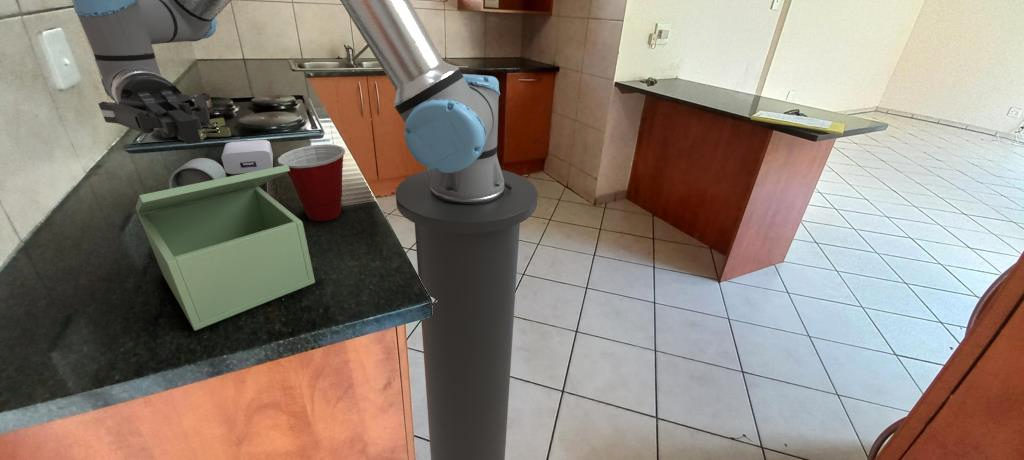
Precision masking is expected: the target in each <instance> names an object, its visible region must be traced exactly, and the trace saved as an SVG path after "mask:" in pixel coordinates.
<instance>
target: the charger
mask: <svg viewBox="0 0 1024 460" xmlns="http://www.w3.org/2000/svg"><path fill="white" fill-rule="evenodd" d="M221 161H222V165H223V169H224V170H225V173H226V174H230V175H240V174H245V173H249V172H254V171H259V170H264V169H269V168H274V153H273V150H272V145H271V142H270V141H269V140H267V139H256V140H255V139H254V140H242V141H241V140H239V141H232V142H231V141H230V142H227V143H225V144H224V148H223V151H222V154H221Z"/></svg>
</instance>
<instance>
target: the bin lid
mask: <svg viewBox="0 0 1024 460" xmlns="http://www.w3.org/2000/svg"><path fill="white" fill-rule="evenodd" d="M289 171H290V169H289V166H288V165H283V166H282V165H279V166H275V167H274V166H273V168H269V169H264V170H259V171H254V172H249V173H240V174H234V175H231V176H226V177H225V178H221V179H216V180H211V181H206V182H201V183H196V184H192V185H187V186H182V187H177V188H172V189H169V188H167V189H163V190H159V191H153V192H149V193H148V192H147V193H144V194H139V196H138V199H137V201H136V205H135V208H134V209H135V211H136V213H137V215H138V214H141V213H146V212H150V211H155V210H159V209H163V208H168V207H172V206H176V205H181V204H184V203H188V202H192V201H196V200H201V199H205V198H209V197H214V196H220V195H224V194H229V193H233V192H237V191H242V190H246V189H250V188H255V187H260V186H262V185H264V184H266V183H268V182H271V181H272V180H274V179H276V178H278V177H281V176H283V175H284V174H286V173H287V172H289ZM287 174H288V173H287Z"/></svg>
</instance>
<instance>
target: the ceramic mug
mask: <svg viewBox="0 0 1024 460" xmlns="http://www.w3.org/2000/svg"><path fill="white" fill-rule="evenodd" d="M225 177H227V173H226V172H225V169H224V166H222V165H221V164H220V163H219V162H218V161H216V160H214V159H211V158H207V157H198V158H193V159H191V160H188V161H187V162H185V164H183V165H182V166H180V167H178V168H177V169H176V170H174V171H173V172H172V174H170V177H169V178H168V179H169V180H168V189H172V188H177V187H182V186H187V185H192V184H196V183H201V182H206V181H211V180H216V179H221V178H225ZM214 197H215V196H214ZM209 198H211V197H209ZM205 199H207V198H205ZM201 200H202V199H201ZM196 201H198V200H196ZM192 202H194V201H192ZM188 203H189V202H188ZM183 204H185V203H183Z"/></svg>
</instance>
